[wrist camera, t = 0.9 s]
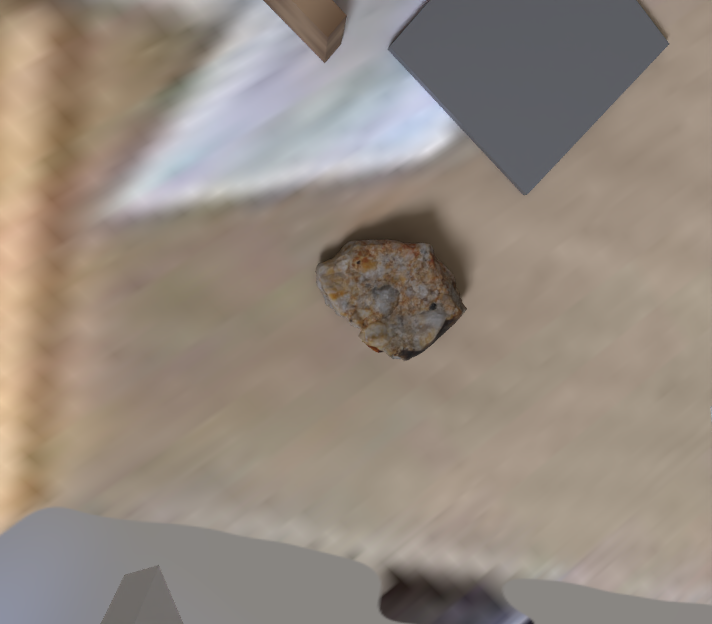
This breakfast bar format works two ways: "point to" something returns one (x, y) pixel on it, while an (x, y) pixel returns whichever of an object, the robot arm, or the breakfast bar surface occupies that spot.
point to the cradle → (313, 23)
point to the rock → (391, 294)
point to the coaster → (527, 71)
